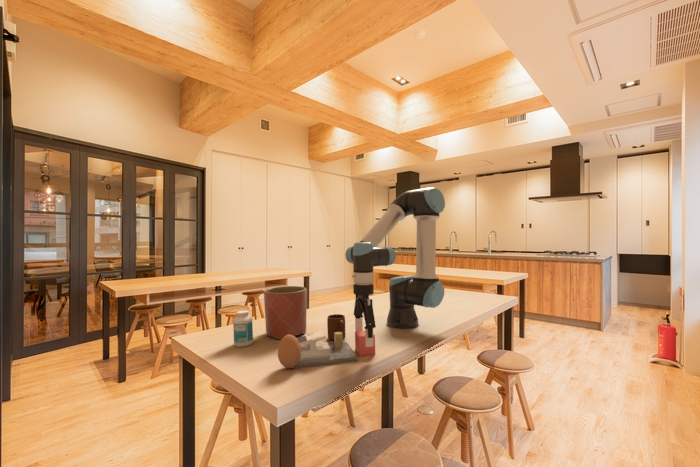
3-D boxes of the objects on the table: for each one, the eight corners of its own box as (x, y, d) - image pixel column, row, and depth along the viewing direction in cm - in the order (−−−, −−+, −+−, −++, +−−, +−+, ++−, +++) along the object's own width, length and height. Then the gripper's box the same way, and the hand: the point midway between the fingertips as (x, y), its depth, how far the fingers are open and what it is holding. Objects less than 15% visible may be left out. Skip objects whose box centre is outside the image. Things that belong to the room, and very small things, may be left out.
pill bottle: (247, 340, 136) (247, 308, 136) (256, 344, 130) (255, 311, 130) (230, 344, 130) (230, 311, 131) (238, 348, 125) (238, 314, 125)
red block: (370, 348, 122) (369, 330, 122) (375, 354, 116) (374, 334, 116) (355, 350, 121) (354, 331, 121) (359, 355, 115) (359, 336, 115)
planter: (277, 343, 130) (276, 295, 131) (257, 333, 145) (256, 289, 145) (315, 333, 143) (314, 289, 143) (293, 325, 157) (292, 284, 157)
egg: (300, 371, 102) (299, 337, 102) (276, 373, 101) (275, 339, 102) (302, 362, 110) (301, 330, 110) (279, 363, 109) (278, 331, 109)
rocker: (324, 334, 117) (323, 330, 117) (326, 339, 111) (326, 335, 111) (297, 341, 114) (296, 337, 114) (298, 346, 109) (297, 342, 109)
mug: (352, 342, 129) (351, 319, 129) (334, 345, 126) (334, 322, 126) (341, 334, 140) (341, 313, 140) (325, 337, 137) (324, 315, 137)
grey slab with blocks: (346, 345, 126) (346, 325, 126) (357, 360, 111) (356, 337, 111) (290, 351, 121) (289, 330, 121) (293, 368, 105) (292, 344, 105)
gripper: (346, 279, 130) (346, 331, 129) (363, 288, 106) (363, 352, 105) (363, 279, 132) (364, 330, 131) (384, 287, 107) (385, 350, 107)
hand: (363, 340), depth 118 cm, fingers open, 13 cm apart
